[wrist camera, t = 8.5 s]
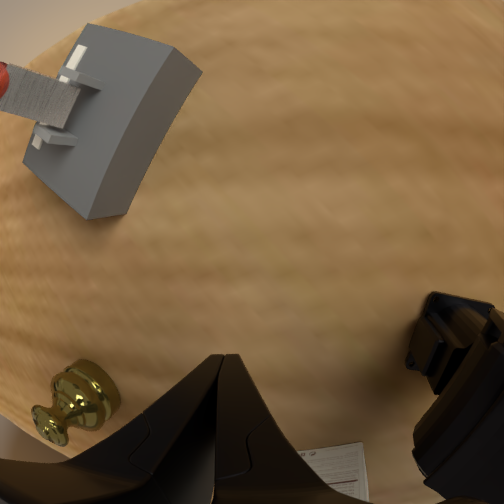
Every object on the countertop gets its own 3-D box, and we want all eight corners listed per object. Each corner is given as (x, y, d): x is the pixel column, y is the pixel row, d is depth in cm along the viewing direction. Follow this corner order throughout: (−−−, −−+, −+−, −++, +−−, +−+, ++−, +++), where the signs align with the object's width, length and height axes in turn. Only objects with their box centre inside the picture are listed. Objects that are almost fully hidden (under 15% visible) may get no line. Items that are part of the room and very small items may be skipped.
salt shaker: (108, 360, 28) (45, 410, 18) (130, 416, 29) (82, 470, 19) (65, 354, 30) (7, 393, 20) (87, 405, 31) (38, 449, 21)
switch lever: (82, 90, 15) (-18, 57, 9) (63, 131, 16) (-36, 103, 10) (77, 85, 17) (-11, 56, 11) (60, 121, 18) (-27, 96, 12)
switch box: (202, 71, 20) (152, 29, 13) (126, 213, 24) (58, 225, 16) (120, 42, 21) (65, 11, 14) (60, 163, 25) (-2, 162, 17)
